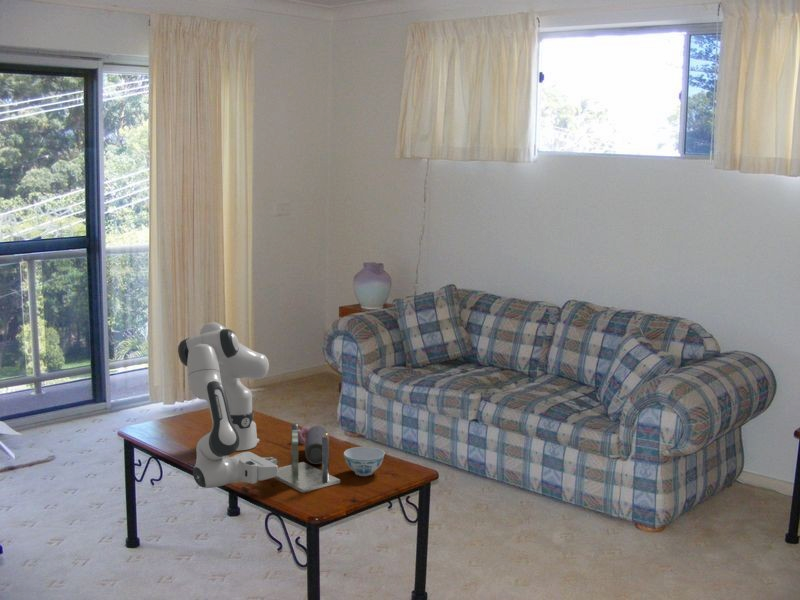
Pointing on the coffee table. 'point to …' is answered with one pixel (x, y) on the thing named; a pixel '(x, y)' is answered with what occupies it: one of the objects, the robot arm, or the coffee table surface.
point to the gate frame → (309, 471)
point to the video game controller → (301, 432)
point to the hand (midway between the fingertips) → (275, 460)
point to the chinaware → (364, 459)
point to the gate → (295, 454)
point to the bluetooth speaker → (314, 444)
